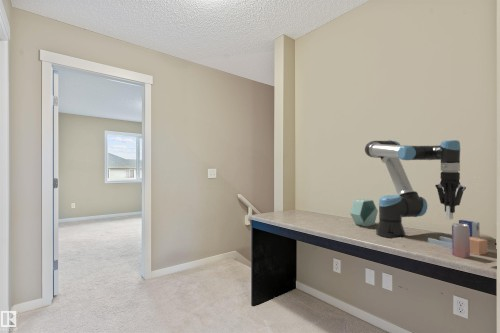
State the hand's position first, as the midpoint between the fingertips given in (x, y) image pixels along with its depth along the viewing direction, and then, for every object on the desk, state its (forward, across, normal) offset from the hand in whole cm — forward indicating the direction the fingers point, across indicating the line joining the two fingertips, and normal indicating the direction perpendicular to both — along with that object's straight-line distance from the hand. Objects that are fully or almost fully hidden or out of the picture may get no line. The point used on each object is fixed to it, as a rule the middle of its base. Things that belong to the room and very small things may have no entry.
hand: (449, 218), depth 125 cm
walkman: (+15, -1, +17) cm, 22 cm away
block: (+13, +11, 0) cm, 17 cm away
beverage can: (+14, +12, -11) cm, 22 cm away
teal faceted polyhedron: (+16, -55, -1) cm, 57 cm away
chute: (+15, +1, 0) cm, 15 cm away
